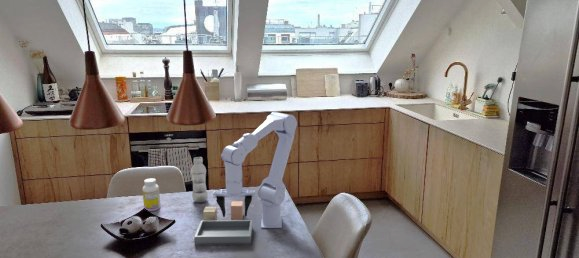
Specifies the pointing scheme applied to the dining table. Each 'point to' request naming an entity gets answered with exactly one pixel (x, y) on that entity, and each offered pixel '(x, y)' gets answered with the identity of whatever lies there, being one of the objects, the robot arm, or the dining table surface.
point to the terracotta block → (237, 210)
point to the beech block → (210, 213)
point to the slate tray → (223, 232)
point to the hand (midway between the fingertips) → (235, 215)
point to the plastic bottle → (199, 180)
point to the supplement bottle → (151, 195)
